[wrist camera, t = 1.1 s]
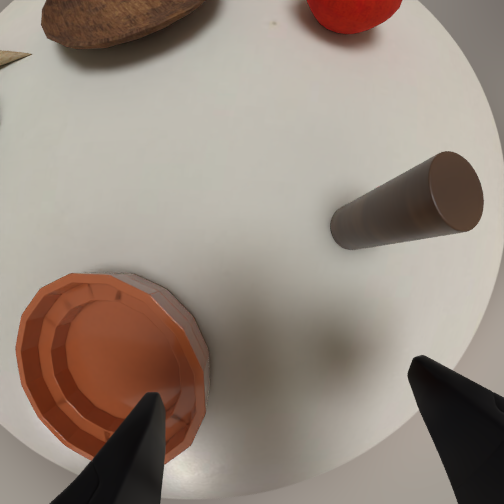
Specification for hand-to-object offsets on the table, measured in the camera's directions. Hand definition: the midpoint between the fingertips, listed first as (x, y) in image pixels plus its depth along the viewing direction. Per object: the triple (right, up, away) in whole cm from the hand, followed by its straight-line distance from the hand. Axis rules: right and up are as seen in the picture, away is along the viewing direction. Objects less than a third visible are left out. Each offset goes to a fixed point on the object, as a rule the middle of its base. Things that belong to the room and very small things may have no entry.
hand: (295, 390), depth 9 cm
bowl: (-15, +32, +14) cm, 38 cm away
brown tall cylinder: (+6, +6, +14) cm, 17 cm away
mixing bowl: (-12, -4, +12) cm, 18 cm away
